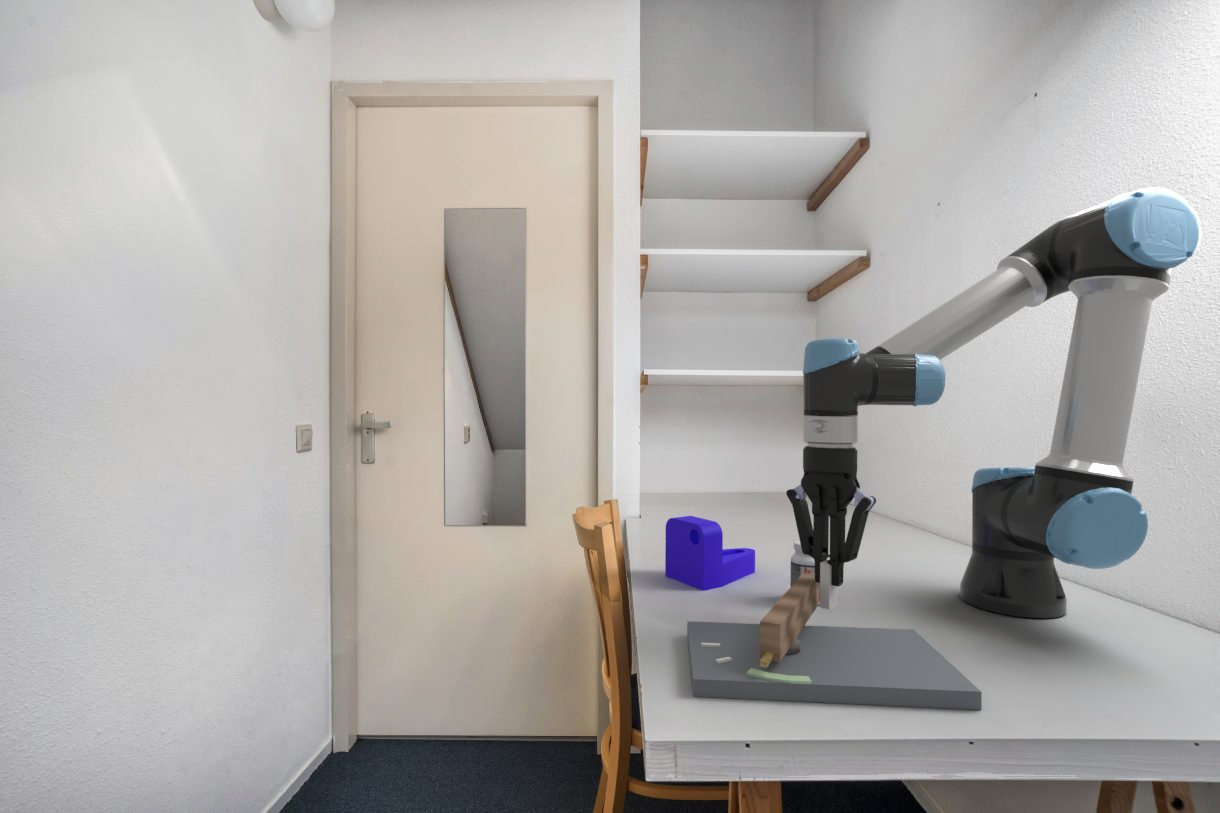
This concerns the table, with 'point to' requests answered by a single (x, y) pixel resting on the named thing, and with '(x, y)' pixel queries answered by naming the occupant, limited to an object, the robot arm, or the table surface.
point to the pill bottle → (801, 564)
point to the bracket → (703, 554)
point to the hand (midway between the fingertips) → (828, 606)
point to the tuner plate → (827, 667)
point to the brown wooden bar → (788, 620)
